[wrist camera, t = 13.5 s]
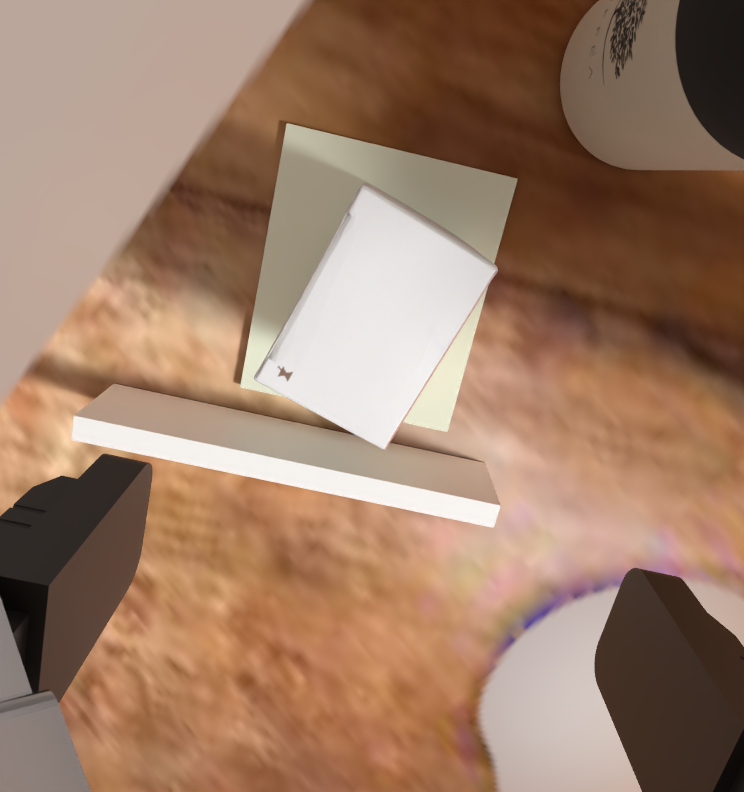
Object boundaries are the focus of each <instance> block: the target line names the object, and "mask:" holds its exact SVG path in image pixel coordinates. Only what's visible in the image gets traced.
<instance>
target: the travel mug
mask: <svg viewBox="0 0 744 792" xmlns="http://www.w3.org/2000/svg"><path fill="white" fill-rule="evenodd" d="M560 95H561V102H562V107H563V111H564V114H565V117H566V120H567V122H568V124H569V127H570V129H571V130H572V132H573V134H574V135H575V137H576V138H577V139H578V141H579V142H580V143H581V144H582V145H583V147H584V148H585V149H586V150H588V151H589V152H590V153H591V154H592V155H594V156H595V157H597V158H598V159H600V160H602V161H603V162H605V163H608V164H610V165H612V166H616V167H619V168H624V169H629V170H732V171H744V0H599V1H598V2H597V3H595V4H594V5H593V6H592V7H591V9H590V10H589V11H588V12H587V13H586V14H585V16H584V17H583V18H582V19H581V21H580V22H579V24H578V25H577V27H576V29H575V30H574V32H573V34H572V36H571V38H570V41H569V43H568V45H567V48H566V51H565V54H564V58H563V62H562V67H561V75H560Z"/></svg>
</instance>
